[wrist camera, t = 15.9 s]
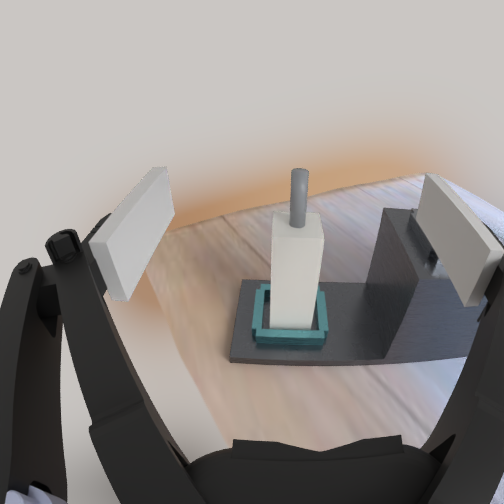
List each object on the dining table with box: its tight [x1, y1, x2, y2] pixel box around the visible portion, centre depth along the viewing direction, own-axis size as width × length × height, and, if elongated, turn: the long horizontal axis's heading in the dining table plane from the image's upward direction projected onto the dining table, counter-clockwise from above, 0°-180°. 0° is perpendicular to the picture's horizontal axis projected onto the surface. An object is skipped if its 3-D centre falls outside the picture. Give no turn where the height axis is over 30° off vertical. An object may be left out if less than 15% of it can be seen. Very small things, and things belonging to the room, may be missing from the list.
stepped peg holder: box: [230, 208, 488, 366], centre depth 31 cm, size 13×28×13 cm, turn 85°
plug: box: [270, 168, 325, 330], centre depth 30 cm, size 5×4×17 cm
